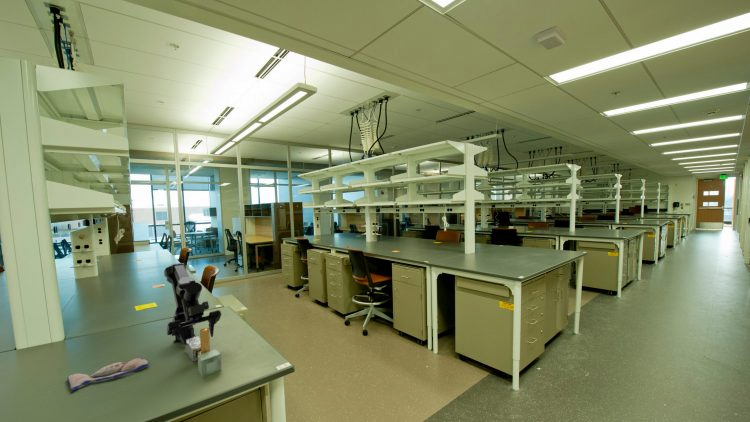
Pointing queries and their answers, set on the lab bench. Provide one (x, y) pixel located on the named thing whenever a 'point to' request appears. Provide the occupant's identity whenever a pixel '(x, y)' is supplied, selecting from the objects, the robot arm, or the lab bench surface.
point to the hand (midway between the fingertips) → (199, 340)
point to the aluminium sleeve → (193, 347)
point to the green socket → (209, 363)
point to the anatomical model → (107, 372)
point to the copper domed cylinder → (204, 342)
